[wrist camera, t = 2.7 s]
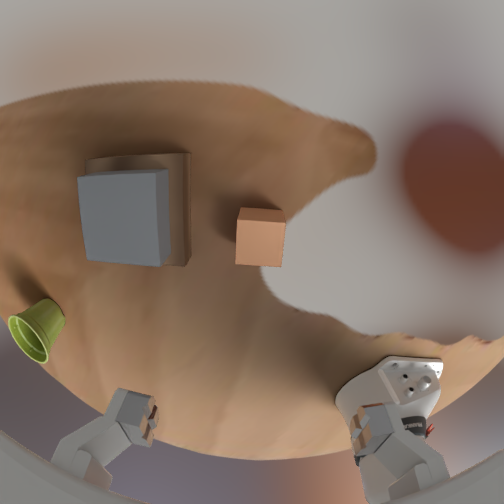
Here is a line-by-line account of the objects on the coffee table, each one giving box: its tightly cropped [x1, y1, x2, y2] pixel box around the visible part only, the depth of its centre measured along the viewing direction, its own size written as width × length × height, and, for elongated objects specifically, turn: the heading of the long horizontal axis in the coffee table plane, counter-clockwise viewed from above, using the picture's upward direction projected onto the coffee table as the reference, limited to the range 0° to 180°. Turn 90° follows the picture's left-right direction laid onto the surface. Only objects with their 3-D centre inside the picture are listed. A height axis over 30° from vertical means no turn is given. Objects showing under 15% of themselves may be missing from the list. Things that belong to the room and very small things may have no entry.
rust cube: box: [235, 207, 286, 267], centre depth 28 cm, size 4×4×5 cm
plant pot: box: [8, 299, 65, 363], centre depth 33 cm, size 9×9×9 cm
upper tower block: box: [77, 169, 171, 267], centre depth 25 cm, size 9×9×4 cm
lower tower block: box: [85, 153, 191, 267], centre depth 28 cm, size 12×12×4 cm
